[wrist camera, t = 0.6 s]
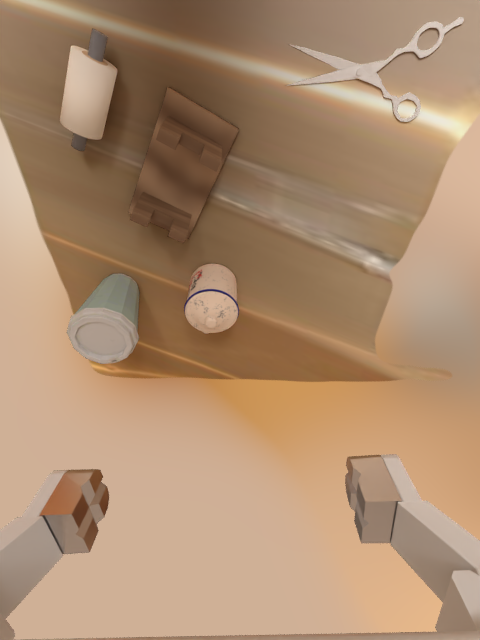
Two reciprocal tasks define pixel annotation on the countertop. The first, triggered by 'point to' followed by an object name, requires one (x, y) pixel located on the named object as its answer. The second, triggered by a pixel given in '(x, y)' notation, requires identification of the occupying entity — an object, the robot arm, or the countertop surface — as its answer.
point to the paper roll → (87, 91)
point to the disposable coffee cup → (107, 321)
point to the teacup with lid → (212, 299)
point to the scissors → (376, 66)
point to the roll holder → (180, 165)
